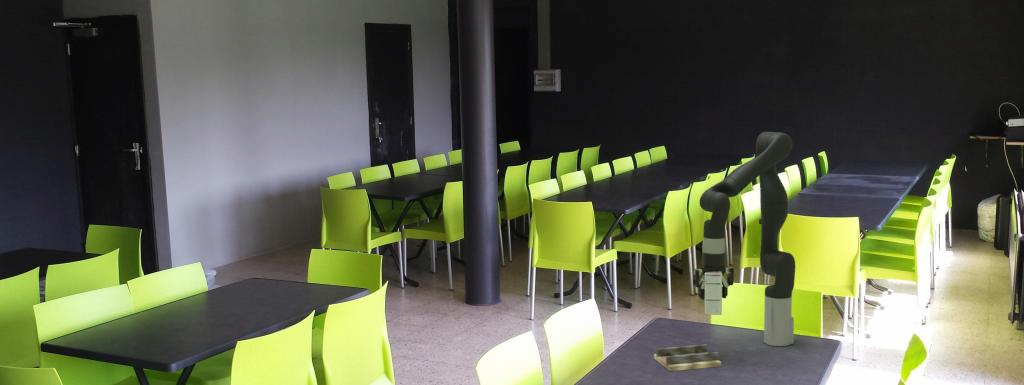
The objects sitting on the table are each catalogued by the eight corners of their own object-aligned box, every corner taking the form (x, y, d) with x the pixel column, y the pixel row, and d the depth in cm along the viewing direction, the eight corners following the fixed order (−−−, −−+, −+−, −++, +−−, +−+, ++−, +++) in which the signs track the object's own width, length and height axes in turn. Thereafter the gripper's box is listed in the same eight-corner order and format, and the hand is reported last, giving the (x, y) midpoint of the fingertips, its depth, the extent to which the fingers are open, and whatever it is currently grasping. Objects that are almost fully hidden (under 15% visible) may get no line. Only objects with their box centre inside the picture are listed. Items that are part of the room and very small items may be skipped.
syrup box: (722, 315, 299) (722, 272, 297) (704, 314, 300) (704, 272, 298) (721, 310, 304) (722, 269, 303) (703, 310, 305) (704, 268, 304)
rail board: (703, 353, 308) (703, 342, 308) (721, 366, 294) (721, 354, 294) (654, 358, 304) (654, 346, 304) (669, 371, 291) (669, 359, 290)
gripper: (728, 247, 305) (727, 294, 307) (689, 249, 302) (688, 297, 304) (738, 251, 297) (737, 299, 299) (698, 253, 294) (697, 302, 296)
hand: (712, 298), depth 302 cm, fingers closed on syrup box, 7 cm apart
